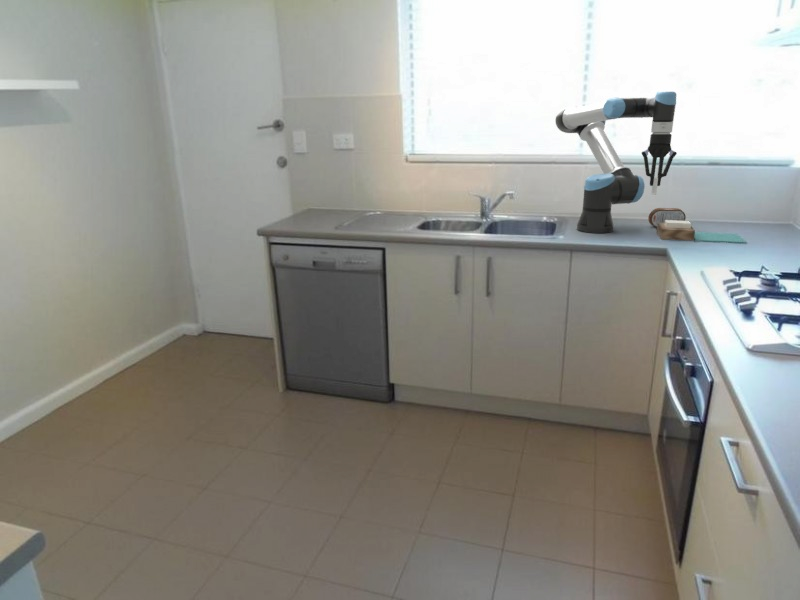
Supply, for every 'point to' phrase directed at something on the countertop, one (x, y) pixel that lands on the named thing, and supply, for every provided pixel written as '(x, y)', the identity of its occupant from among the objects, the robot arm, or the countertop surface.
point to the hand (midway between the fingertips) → (653, 194)
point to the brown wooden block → (675, 233)
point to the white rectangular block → (677, 224)
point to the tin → (665, 215)
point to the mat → (718, 237)
